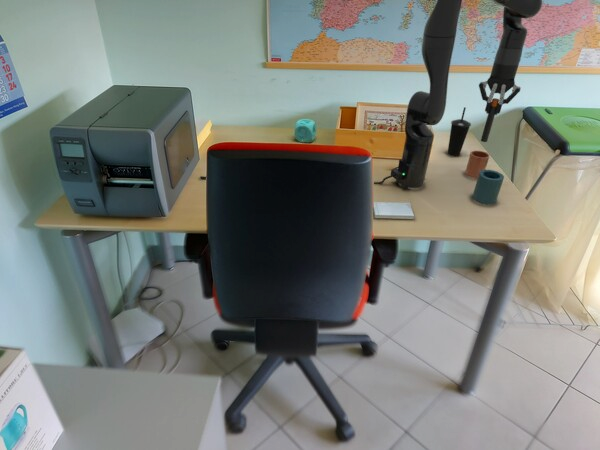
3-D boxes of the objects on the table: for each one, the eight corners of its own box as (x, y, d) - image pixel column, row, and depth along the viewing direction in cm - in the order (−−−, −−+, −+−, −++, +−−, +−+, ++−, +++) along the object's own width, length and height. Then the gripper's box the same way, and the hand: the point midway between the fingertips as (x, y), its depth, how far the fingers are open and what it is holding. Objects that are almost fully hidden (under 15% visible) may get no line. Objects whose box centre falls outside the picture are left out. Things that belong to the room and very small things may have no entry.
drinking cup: (460, 150, 175) (472, 104, 163) (464, 158, 168) (477, 111, 157) (442, 149, 175) (453, 104, 164) (446, 157, 169) (457, 110, 158)
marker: (483, 142, 146) (495, 100, 137) (479, 140, 148) (490, 98, 139) (488, 141, 147) (500, 99, 138) (484, 139, 148) (495, 98, 140)
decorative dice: (315, 137, 185) (316, 120, 181) (311, 143, 179) (312, 126, 175) (299, 135, 187) (299, 118, 183) (294, 141, 181) (294, 124, 176)
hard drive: (409, 202, 135) (372, 201, 136) (414, 215, 129) (375, 214, 129) (408, 206, 136) (371, 205, 137) (413, 220, 130) (374, 218, 130)
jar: (482, 208, 136) (491, 181, 130) (467, 197, 142) (474, 171, 136) (500, 203, 138) (509, 177, 133) (484, 193, 144) (492, 168, 138)
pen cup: (473, 181, 152) (479, 159, 147) (461, 173, 157) (466, 152, 152) (486, 178, 154) (493, 156, 149) (474, 170, 159) (480, 149, 154)
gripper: (482, 61, 131) (469, 113, 141) (529, 66, 126) (512, 120, 136) (485, 56, 137) (472, 107, 147) (530, 61, 132) (514, 113, 141)
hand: (491, 113), depth 141 cm, fingers closed on marker, 2 cm apart
